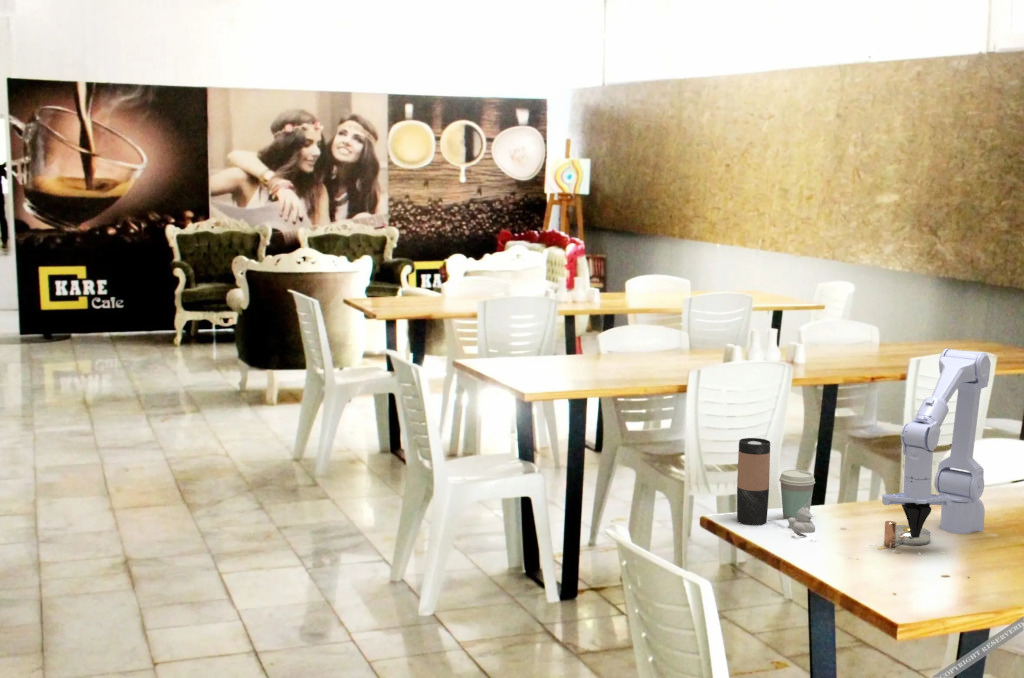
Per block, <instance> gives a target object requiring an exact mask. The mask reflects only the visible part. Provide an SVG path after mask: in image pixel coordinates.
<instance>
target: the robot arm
mask: <svg viewBox="0 0 1024 678" xmlns="http://www.w3.org/2000/svg"><path fill="white" fill-rule="evenodd" d="M938 369H939V377H938V380H937V382H936V385H935V387H934V390H933V392H932V395H931V396H928V397H925V399H923V401H922V403H921V405H920V407H919V409H918V410H917V412H916V414H915V416H914V417H913V419H912V421H910V422H907V423H905V424H904V425H903V427H902V431H901V435H900V441H901V445H902V454H903V455H904V469H903V470H904V473H903V476H904V477H903V489H902V490H903V492H901V493H900V492H899V493H898V492H897V493H892V494H891V493H890V494H889V493H888V494H885V493H884V494H881V495H882V497H881V498H882V499H881V501H882V502H881V503H882V504H883V505H884V506H890V505H901V507H902V509H903V511H904V514H905V517H906V520H907V523H908V525H909V528H910V535H911V536H912V537H913V538H919V536H920V532H921V529H922V528H924V524H925V522H926V520H927V518H928V517H929V515H930V514H931V513H932V507H931V506H940V507H941V509H940V525H939V526H940V528H939V529H941V530H942V531H943V532H947V533H951V534H956V535H958V534H959V535H966V534H971V533H974V532H981V533H984V531H985V530H984V529H985V516H986V515H985V513H986V511H985V506H984V502H983V501H982V500H981V497H982V495H983V493H984V490H985V479H984V478H985V477H984V472H985V470H984V468H983V467H982V465H981V464H979V463H978V462H977V460H975V459H974V457H973V456H974V448H975V441H976V433H977V424H978V415H979V409H980V402H981V401H980V400H981V393H982V389H985V388H987V387H988V385H989V381H990V372H991V360H990V357H989V355H988V353H987V352H985V351H981V352H979V351H970V350H969V351H968V350H960V349H951V348H945V349H943V351H942V352H941V353H940V355H939V361H938ZM956 390H957V397H956V406H955V412H954V413H955V414H954V420H953V430H952V440H951V444H950V445H951V447H950V454H949V456H948V457H946V458H944V459H943V460H941V461H939V463H938V467H937V471H936V473H935V476H934V483H933V484H934V488H935V489H934V490H935V491H936V492H937V494H936V493H932V492H931V491H932V478H933V477H932V475H933V459H934V458H933V457H934V450H935V449H936V448H937V446H938V444H939V440H940V434H941V431H942V430H941V426H942V425H943V423H944V421H945V419H946V417H947V415H948V414H949V411H950V410H949V405H948V403H949V402H950V399H952V397H953V395H954V394H955V392H956Z"/></svg>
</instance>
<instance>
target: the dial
mask: <svg viewBox="0 0 1024 678" xmlns="http://www.w3.org/2000/svg"><path fill="white" fill-rule="evenodd" d="M931 535H932V534H931V531H930V530H928V529H927V528H924V527H922V529H921V532H920V536H919V538H913V537H912V536H911V535H910V528H909V524H908V525H906V524H900V525H899V524H898V525H897V522H896V521H892V520H886V521H885V522H884V537H883V539H884V540H883V546H885V547H887V548H886V549H893V548H896V547H898V546H900V545H905V546H926V545H928V544H930V542H931Z"/></svg>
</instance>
